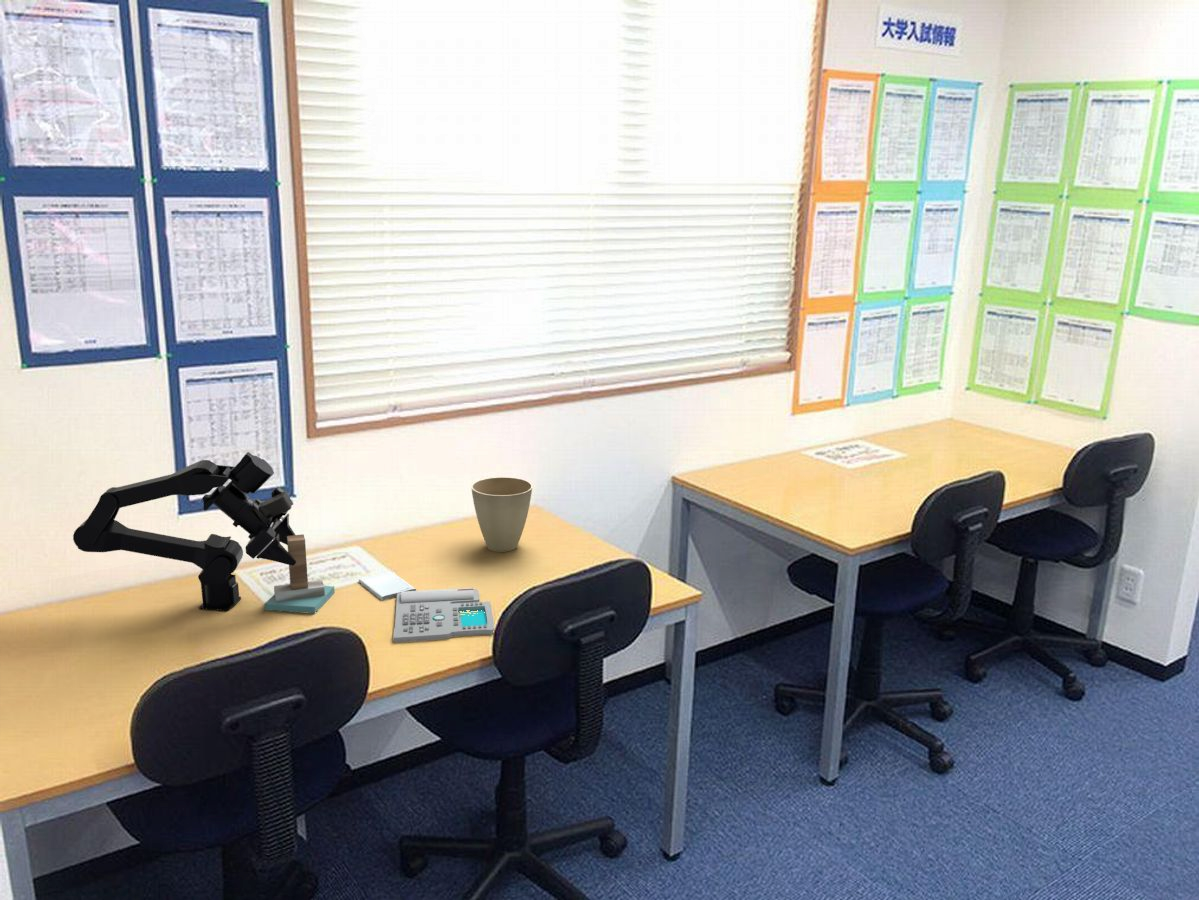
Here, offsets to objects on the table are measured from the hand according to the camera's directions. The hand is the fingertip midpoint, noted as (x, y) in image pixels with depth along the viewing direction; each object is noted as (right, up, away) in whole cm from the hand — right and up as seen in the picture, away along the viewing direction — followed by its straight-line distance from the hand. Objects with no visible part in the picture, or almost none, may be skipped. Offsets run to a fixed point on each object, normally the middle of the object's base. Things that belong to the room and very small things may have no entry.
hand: (298, 555), depth 211 cm
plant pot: (+40, -2, +37) cm, 54 cm away
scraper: (0, -9, +2) cm, 9 cm away
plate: (0, -10, +3) cm, 10 cm away
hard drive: (+16, -9, +11) cm, 22 cm away
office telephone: (+31, -13, -2) cm, 34 cm away
